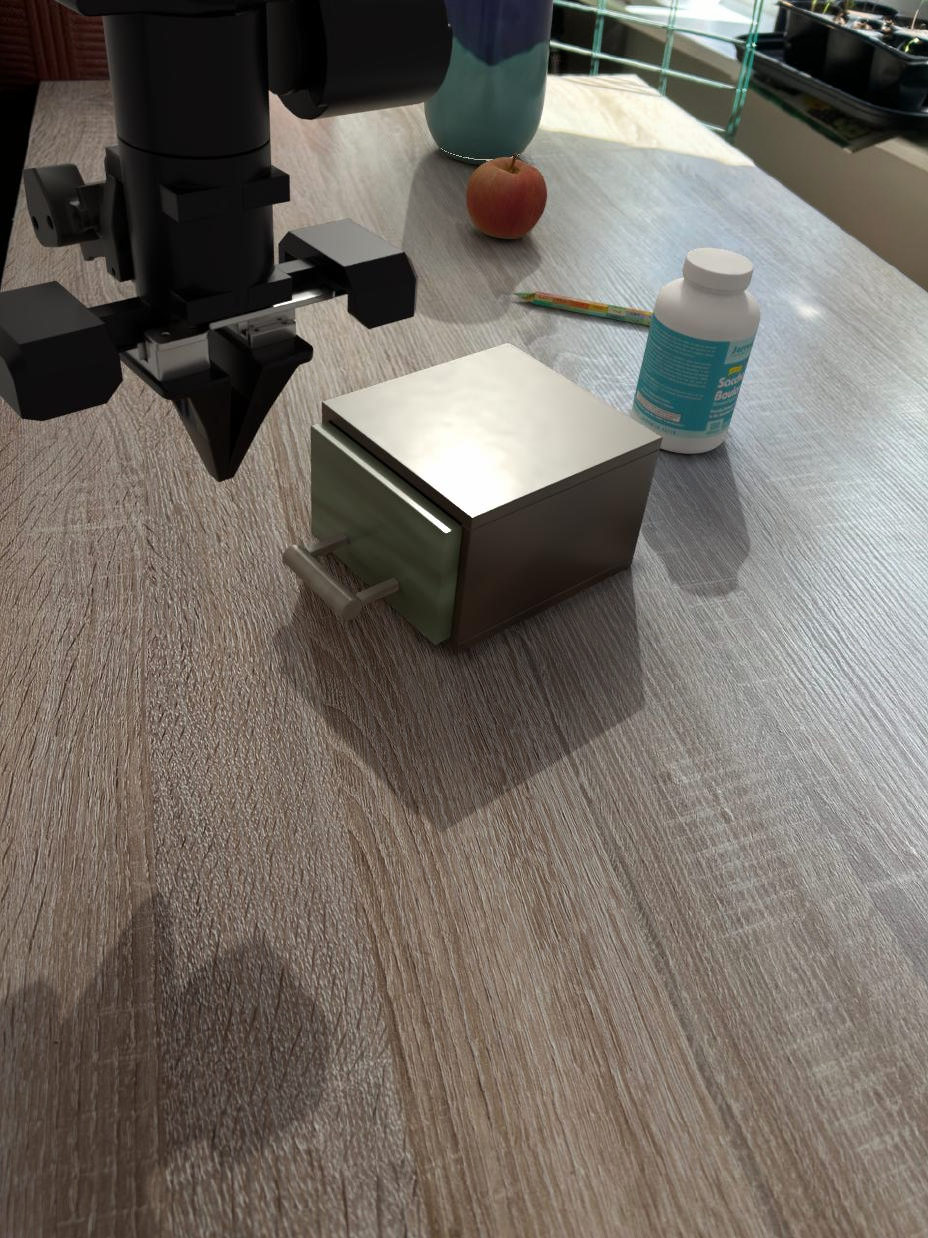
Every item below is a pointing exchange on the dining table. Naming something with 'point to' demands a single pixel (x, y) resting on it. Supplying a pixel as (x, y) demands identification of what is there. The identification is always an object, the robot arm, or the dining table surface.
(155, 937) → the dining table surface
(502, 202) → the apple
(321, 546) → the drawer
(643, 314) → the pencil
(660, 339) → the pill bottle
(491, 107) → the vase
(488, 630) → the cabinet
